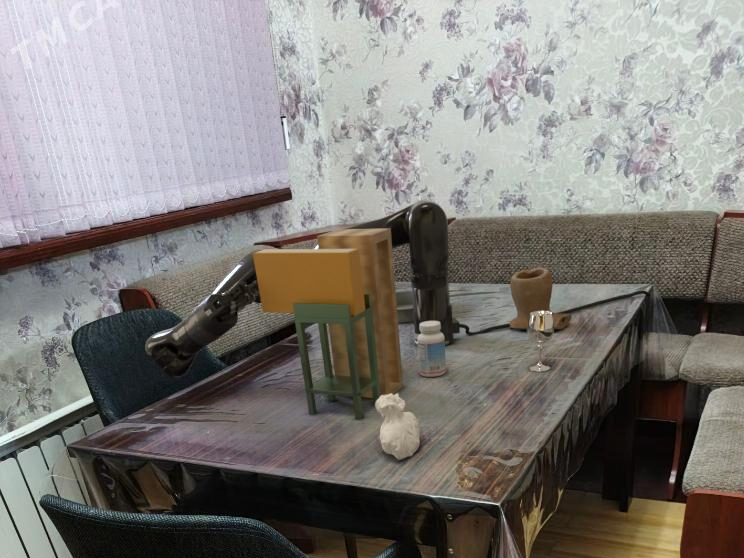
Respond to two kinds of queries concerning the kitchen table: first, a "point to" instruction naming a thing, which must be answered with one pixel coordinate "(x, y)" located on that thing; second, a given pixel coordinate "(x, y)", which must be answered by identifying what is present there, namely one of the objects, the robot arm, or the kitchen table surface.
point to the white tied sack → (397, 427)
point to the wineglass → (540, 333)
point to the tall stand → (384, 308)
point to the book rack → (330, 382)
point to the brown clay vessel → (533, 297)
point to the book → (309, 278)
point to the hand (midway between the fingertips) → (258, 281)
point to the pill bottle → (431, 349)
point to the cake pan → (404, 306)
